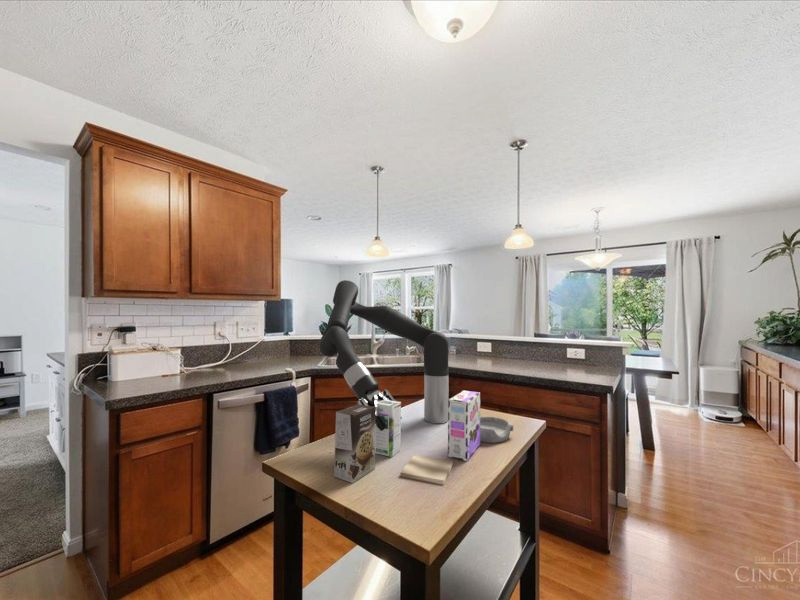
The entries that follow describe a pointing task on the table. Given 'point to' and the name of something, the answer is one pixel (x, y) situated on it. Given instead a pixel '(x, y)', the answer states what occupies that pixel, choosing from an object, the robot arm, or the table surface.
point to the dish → (494, 429)
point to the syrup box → (389, 428)
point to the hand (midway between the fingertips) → (392, 424)
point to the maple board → (427, 469)
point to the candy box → (463, 425)
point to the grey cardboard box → (354, 442)
